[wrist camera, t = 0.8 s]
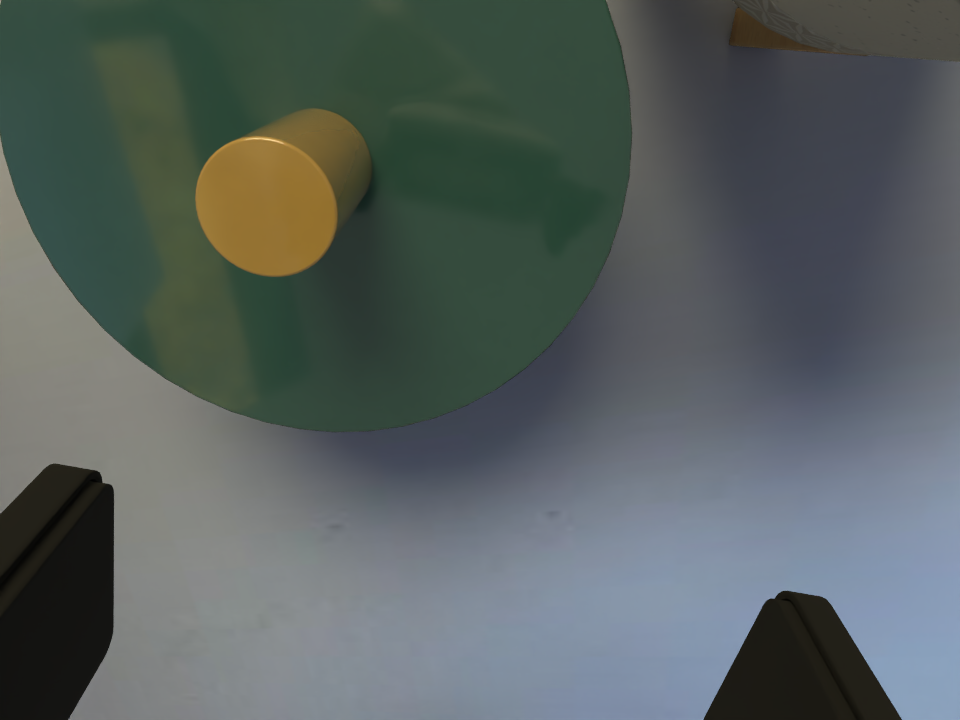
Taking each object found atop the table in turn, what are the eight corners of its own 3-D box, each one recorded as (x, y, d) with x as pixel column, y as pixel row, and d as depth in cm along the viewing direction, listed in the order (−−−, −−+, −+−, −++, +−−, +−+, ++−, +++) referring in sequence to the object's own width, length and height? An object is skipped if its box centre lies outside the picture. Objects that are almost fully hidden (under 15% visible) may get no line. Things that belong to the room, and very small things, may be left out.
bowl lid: (-54, 248, 22) (-254, 331, 16) (153, -402, 16) (-50, -671, 10) (431, 493, 26) (417, 634, 20) (750, 56, 20) (871, 69, 14)
